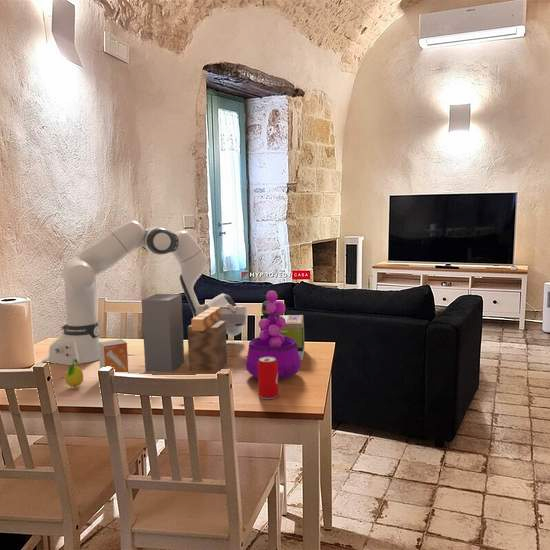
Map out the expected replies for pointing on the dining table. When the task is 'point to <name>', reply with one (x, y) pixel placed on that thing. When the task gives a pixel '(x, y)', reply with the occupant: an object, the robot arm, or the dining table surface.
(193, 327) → the orange bar
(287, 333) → the tea box
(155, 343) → the charcoal stand
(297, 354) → the decorative plant
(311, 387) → the dining table surface
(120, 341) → the small box
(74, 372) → the lemon
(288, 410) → the dining table surface
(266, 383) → the beverage can
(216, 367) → the walnut pedestal
